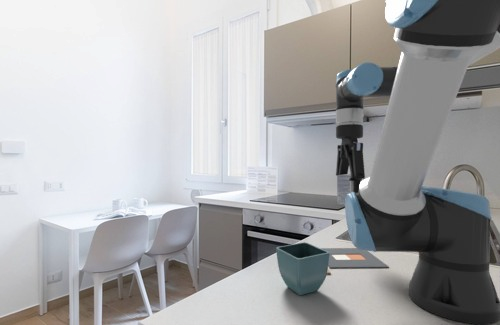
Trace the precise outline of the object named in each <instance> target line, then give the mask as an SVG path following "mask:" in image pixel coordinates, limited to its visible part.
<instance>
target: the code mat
mask: <svg viewBox="0 0 500 325" xmlns="http://www.w3.org/2000/svg"><path fill="white" fill-rule="evenodd" d="M319 248H320V249H323V250H325V251H328V252H329V253H330V255H329V263H328V269H389V268H390V266H389V265H387V264H386V263H385V262H384V261H382V260H380V259H379V258H378V257H377V256H375V255H374V254H373V253H372V252H371V251H365V250H360V249H358V248H356V247H343V248H342V247H340V248H339V247H336V248H335V247H333V248H332V247H330V248H329V247H327V248H326V247H324V248H323V247H322V248H321V247H319Z"/></svg>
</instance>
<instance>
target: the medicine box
mask: <svg viewBox="0 0 500 325" xmlns="http://www.w3.org/2000/svg"><path fill="white" fill-rule="evenodd" d="M350 178H351V173H348V174H345V175H337V176H336V191H337V192H336V200H337V202H336V203H337V205H339V206H340V205H341V206H345V199H346V196H347V194H349V193H350V181H349V179H350Z"/></svg>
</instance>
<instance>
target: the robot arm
mask: <svg viewBox="0 0 500 325" xmlns="http://www.w3.org/2000/svg"><path fill="white" fill-rule="evenodd" d="M384 2H385V4H386V6H385V9H384V14H385V20H386V22H387V24H388V25H389V26H390V27H392V28H394V29H395V31H394V34H393V40H394V41H395V43H396V44H397V45H398V47H399V48H400V50H401V52H400V57H399V62H398V65H397V66H379V65H378V64H376V63H374V62H368V61H367V62H362V63H360V64H358V65H357V66H356V67H354V68H352V69H351V68H350V69H344V70H342V71H339V72H338V73H337V74H336V83H335V95H336V96H335V97H336V98H335V100H336V101H335V104H336V105H335V108H336V109H335V125H336V127H335V138H336V139H338V140H341V144H338V145H337V157H336V169H335V176H336V177H337V175H345V174H351V178H350V179H349V181H350V193H349V194H347V196H346V199H345V205H344V212H345V214H344V215H345V221H346V222H345V223H346V226H347V231H348V235H349V237H350V240H351V242H352V244H353V246H354V248H358V249H360V250H365V251H368V252H373V253H377V252H384V253H385V252H390V253H391V252H393V253H394V252H396V253H398V252H401V253H418V259H417V260H418V261H417V263H416V266H415V268H414V271H413V273H412V277H411V279H410V280H409V283H408V295H409V298H410V299H411V301H413V303H414V304H416V305H417V306H418V307H420V308H421V309H424V310H425V311H428V312H430V313H431V314H434V315H436V316H439V317H442V318H445V319H448V320H452V321H455V322H461V323H466V324H476V325H487V324H493V323H496V322H498V321H500V298H499V297H498V293H497V290H496V287H495V284H494V281H493V279H492V277H491V272H490V253H491V252H490V246H491V245H490V243H491V242H490V241H491V240H490V239H491V238H490V236H491V221H492V216H491V207H490V206H491V205H490V201H489V199H488V198H487V197H486V196H484V195H482V194H479V193H473V192H467V191H462V190H461V191H460V190H453V189H449V188H447V189H446V188H441V187H440V188H439V187H432V186H425V185H424V182H425V180H426V177H427V174H428V171H429V169H430V166H431V164H432V161H433V158H434V155H435V153H436V151H437V148H438V145H439V143H440V140H441V138H442V135H443V132H444V130H445V127H446V125H447V122H448V119H449V117H450V114H451V112H452V109H453V107H454V104H455V101H456V98H457V95H458V93H459V91H460V88H461V85H462V83H463V80H464V78H465V76H466V74H467V73H466V72H467V70H468V67H469V66H471V65H473V64H475V63H476V62H478V61H479V60H482V59H483V58H485V57H487V56H488V55H490V54H493V53H494V52H495V51H497V50H499V49H500V0H385V1H384ZM365 98H389V101H388V104H387V109H386V113H385V116H384V120H383V121H384V122H383V126H382V128H381V129H382V130H381V133H380V137H379V140H378V144H377V145H378V146H377V150H376V153H375V156H374V161H373V164H372V169H371V173H370V176H367V177H366V175H365V162H364V143H363V142H358V141H359V140H358V139H362V138H363V137H364V126H363V122H364V117H365V113H364V99H365ZM348 172H350V173H348Z"/></svg>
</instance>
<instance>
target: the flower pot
mask: <svg viewBox="0 0 500 325" xmlns="http://www.w3.org/2000/svg"><path fill="white" fill-rule="evenodd" d="M320 248H321V247H317V246H316V245H313V244H312V243H308V242H305V241H304V242H298V243H297V242H296V243H293V244H292V243H291V244H288V245H281V246H278V247H275V251H276V257H277V266H278V271H279V273H280V277H281V278H282V280H283V282H284V284H285V285H286V287H287V288H288V289H290V290H291V291H293V292H294V293H296V295H297V294H298V295H299V296H304V295H306V294H310V293H314V292H317V291H318V290H320V288H321V287H322V286H323V284H324V282H325V280H326V277H327V275H328V274H327V270H329V267H328V263H329V255H330V253H329V252H328V251H325V250H323V249H320Z"/></svg>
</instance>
